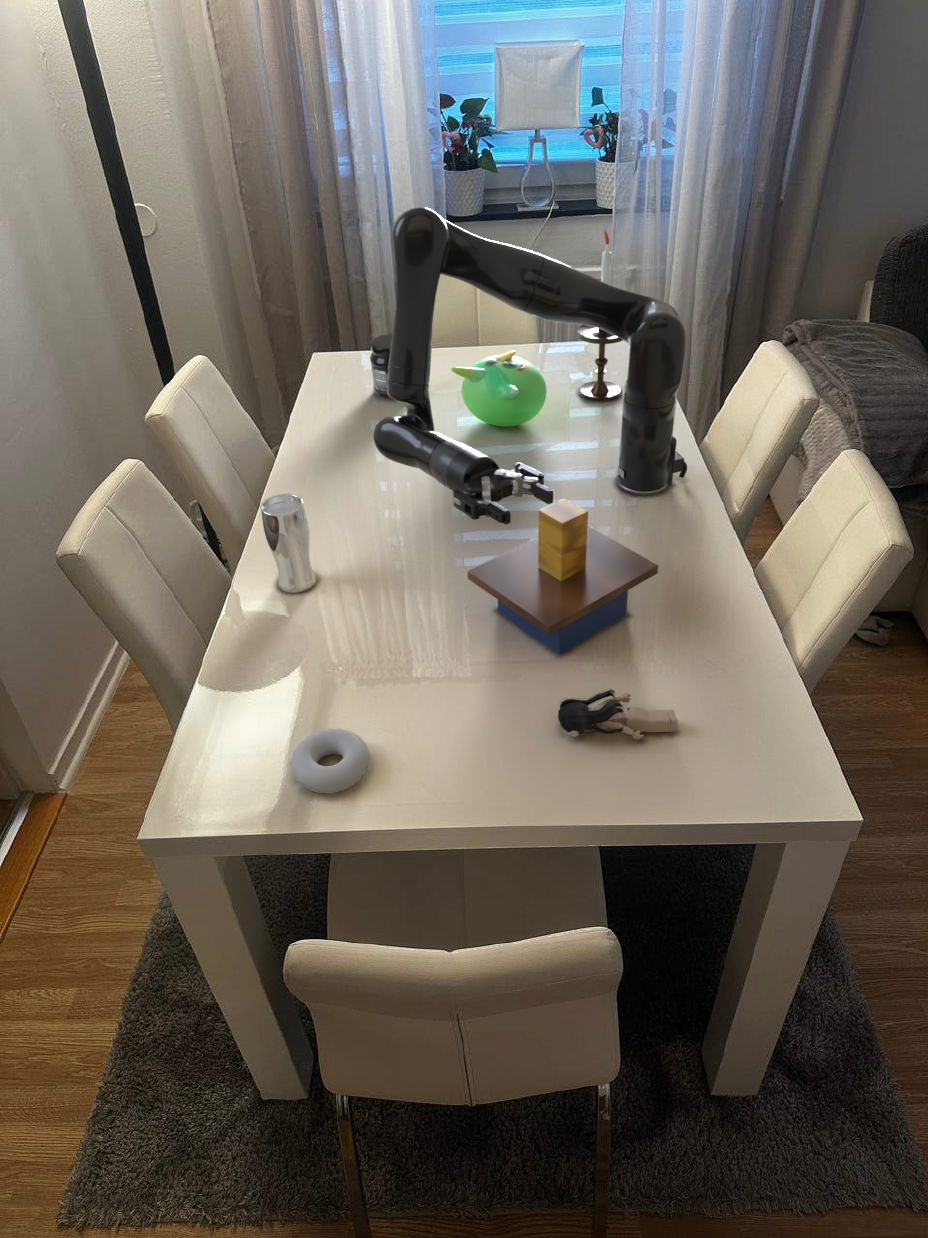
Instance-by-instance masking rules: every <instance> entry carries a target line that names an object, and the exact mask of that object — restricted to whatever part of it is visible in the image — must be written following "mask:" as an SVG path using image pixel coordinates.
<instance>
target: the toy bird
mask: <svg viewBox="0 0 928 1238" xmlns="http://www.w3.org/2000/svg"><path fill="white" fill-rule="evenodd" d="M516 352H517V350H510V351H507V352H504V353H501V354H499V355H498V354H497V355H490V356H487V357H485V358H482V359H480V360H478V361H477V362H475V363H473V364H472V366H470V367H468V366H453V367H452V368H451V369H450V371H451V372H453V374H456V375H458V376H460V377H461V378H463V381H462V385H461V396H462V400H463V403H464V405H465V407H466V408H467V409H468V411H469V412H470V413H471V414H472V415H473V416H474V417H476V418H477V419H478V420H480V421H482V422H484V423H486V424H489V425H492V426H496V427H515V426H520V425H523V424H525V423H528V422H529V421H531V420H533V419H534V418H535V417H536V416H537V415H538V414H539V413H540V412H541V410H542V408H543V407H544V404H545V401H546V398H547V385H546V381H545V378H544V376H543V374H542V373H541V372H540V370H539V369H538V368H537V366H535V365H534V364H533V363H531V362H529V361H528V360H526V359H524V358H522V357H519V356H515V355H516Z"/></svg>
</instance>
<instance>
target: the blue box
mask: <svg viewBox="0 0 928 1238" xmlns="http://www.w3.org/2000/svg"><path fill="white" fill-rule="evenodd" d="M628 595H629V590H628V591H626V592H624V593H622V594H621V595H619V596H617V597H615V598H614V599H612V600H610V601H608V602H607V603H605V604H603V605H601V606H600V607H598V608H596V609H594V610H593V611H591V612H589V613H587V614H586V615H584V616H582V617H580V618H579V619H577V620H575V621H573V622H572V623H570V624H568V625H566V626H565V627H563V628H561V629H559V630H558V631H556V632H554V633H552V634H551V635H548V634H546V633H545V632H544V631H542V630H541V629H539V628H538V627H536V626H535V625H534V624H532V623H531V622H529V621H528V620H526V619H525V618H523V617H522V616H521V615H519V614H518V613H516V612H515V611H513V610H512V609H511V608H509V607H508V606H506V605H505V604H503V603H502V602H500V601H499V600H498V599H497V612H498V613H500V614H501V615H503V616H504V617H506V618H507V619H508V620H510V621H511V622H513V623H514V624H515V625H517V626H518V627H520V628H521V629H523V630H524V631H526V633H528V634H530V635H531V636H533V637H534V638H535V639H536V640H538V641H540V642H541V643H542V644H544V645H545V646H547V647H548V648H550V650H552V651H554V652H555V653H557V654H558V655H561V654H563V653H564V652H566V651H568V650H569V649H571V648H573V647H575V646H577V645H578V644H580V643H581V642H584V641H585V640H586V639H588V638H590V637H591V636H594V635H595V634H597V633H598V632H600V631H602V630H604V629H605V628H607V627H609V626H611V625H612V624H614V623H615V622H617V621H619V620H620V619H623V618H624V617H626V616H627V608H628V597H629V596H628Z"/></svg>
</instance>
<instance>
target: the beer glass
mask: <svg viewBox="0 0 928 1238" xmlns="http://www.w3.org/2000/svg"><path fill="white" fill-rule="evenodd" d="M304 505H305V504H304V501H303V498H302V497H301V496H299V495H297V494H294V493H279V494H275V495H272V496H270V497H267V498H266V499H264V500H263V501H262V503H261V505H260V511H261V520H262V526H263V533H264V535H265V540H266V542H267V544H268V548H269V549H270V552H271V554H272V556H273V558H274V561H275V563H276V567H277V571H278V572H277V573H278V587H279V589H281V590H282V591H284V592H286V593H290V594H297V593H303V592H305V591H307V590H310V588H312V587H313V586H314V585H315V583H316V575H315V572H314V570H313V567H312V564H311V559H310V545H311V544H310V543H311V541H310V539H311V537H310V527H309V520H308V516H307V512H306V509H305V506H304Z"/></svg>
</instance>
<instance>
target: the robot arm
mask: <svg viewBox="0 0 928 1238" xmlns="http://www.w3.org/2000/svg"><path fill="white" fill-rule="evenodd" d="M390 244H391V249H392V252H393V254H394V266H395V278H396V281H395V282H396V292H395V293H396V294H395V295H396V297H395V311H394V318H393V319H394V320H393V326H392V333H391V334H392V339H391V346H390V355H389V368H388V383H387V392H388V395H389V397H390V398H391V399H390V400H393V401H395V402H398V403H403V404H404V406H405V409H406V414H405V415H403V414H402V415H389V416H384V417H382V418H380V419H379V420H378V421H377V423H376V424H375V426H374V428H373V431H372V438H373V443H374V445H375V447H376V449H377V451H378V452H379V454H381V456H383V457H385V458H386V459H388V460H390V461H392V462H395V463H398V464H401V465H404V466H407V467H411V468H414V469H418V470H420V471H422V472H423V473H424V474H426V475H428V476H430V477H432V478H433V479H434V480H436V481H437V482H438V483H439V484H441V485H442V486H444V487H446V488H447V489H448V490H450V491H452V497H453V498H452V499H453V506H454V508H456V509H457V510H459V511H460V512H462V513H463V514H464V515H466V516H468V517H469V518H470V519H471V520H473V521H477V520H478V521H479V520H480V517H482V516H483V517H484V518H491V519H493V520H494V521H496V522H497V523H500V524H503V525H505V526H506V525H509V524H511V523H512V522H511V520H512V519H511V516H512V515H511V511H510V510H509V509H507V508H506V507H504V506H502V505H501V504H499V503H498V502H500V501H502V500H503V499H505V498H506V499H507V498H510V497H518V498H521V497H523V496H524V495H526V496H533V497H534V498H536V499H537V500H539V501H540V502H542V503H544V504H547V505H551V504H553V503H554V490H553V489H552V488H551V487H548V486H547V485H545V473H544V472H543V471H540V470H538V469H536V468H533V467H531V466H529V465H526V464H524V463H523V462H515V463H514V468H512V469H511V470H507V469H503V468H500V466H499V465H498V464H497V462H496V461H495V460H494V459H493V458H492V457H490V456H488V455H487V454H485V453H482V452H481V451H479V450H477V449H476V448H473V447H471V446H469V445H468V444H466V443H463V442H460V441H457V440H456V439H453V438H452V437H449V436H447V435H446V434H444V433H442V432H439V431H436V430H435V424H434V419H433V411H432V405H431V398H430V394H429V393H430V392H429V389H430V378H431V367H432V355H433V333H434V332H433V331H434V317H435V315H434V313H435V306H436V298H437V292H438V285H439V282H440V277H441V275H443V276H446V277H449V278H451V279H454V280H458V281H462V282H464V283H465V284H468V285H470V286H472V287H475V288H476V289H478V290H480V291H481V292H483V293H484V294H485V295H488V296H489V297H492V298H493V299H496V300H497V301H499V302H500V303H503V304H505V305H507V306H509V307H510V308H511V307H512V308H514V309H515V310H518V311H521V312H523V313H526V314H528V315H530V316H531V315H532V316H534V317H536V318H539V319H541V320H545V321H548V322H552V323H556V324H568V325H579V326H581V325H588V326H592V327H596V328H599V329H601V330H604V331H606V332H608V333H610V334H612V335H614V336H616V337H618V338H620V339H622V340H623V341H624V342H626V343H627V344H628V345H629V346H628V347H629V355H628V356H629V357H628V368H627V377H626V380H625V382H624V385H623V398H622V411H621V412H622V414H621V429H620V443H619V456H618V457H619V458H618V465H617V466H616V467H617V469H616V472H617V479H616V482H617V487H619V488H620V489H621V490H622V491H624V492H626V493H629V494H632V495H636V496H652V495H657V494H659V493H663V491H665V490H666V489H667V488H668V487H671V486H673V477H674V474H675V473H679V474H678V478H681V479H684V478H685V476H686V473H687V471H688V465H687V462H686V461H685V457H683V456H682V455H681V454H680V453H679V452H678V451H677V438H676V437H675V436H673V435H674V427H675V418H676V417H675V416H676V406H677V398H678V391H679V389H680V387H681V384H682V379H683V372H684V371H683V370H684V363H685V356H686V347H687V332H686V328H685V326H684V324H683V321H682V319H681V318H680V315H679V314H678V312H677V310H676V309H675V307H673V306H672V305H671V304H670V303H668V302H666V301H664V300H662V299H659V298H655V297H651V296H648V295H644V294H640V293H636V292H633V291H630V290H626V289H622V288H619V287H616V286H614V285H611V284H610V285H608V284H606V283H604V282H602V281H601V279H599V278H596V277H594V276H592V275H590V274H588V273H586V272H583V271H581V270H579V269H576V268H574V267H572V266H569V265H568V264H566V263H563V262H561V261H559V260H557V259H553V258H551V257H549V256H546V255H543V254H541V253H539V252H535V251H533V250H529V249H526V248H522V247H519V246H515V245H512V244H508V243H503V242H499V241H495V240H490V239H487V238H483V237H482V236H481V237H480V236H478V235H476V234H473V233H471V232H469V231H467V230H465V229H463V228H461V227H459V226H457V225H455V224H453V223H452V222H450V221H448V220H446V219H444V218H443V217H442V216H441V215H440V214H438V213H437V212H436V211H434V210H433V209H431V208H428V207H424V206H423V207H422V206H418V207H416V206H415V207H411V208H409V209H406V210H405V211H403V212H402V213H401V214H399V216H398V217H397V218H396V220H395V221H394V223H393V225H392V227H391V232H390ZM514 481H515V482H516V483H517V489H514ZM525 485H528V486H530V487H525ZM479 502H481V503H479Z"/></svg>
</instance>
